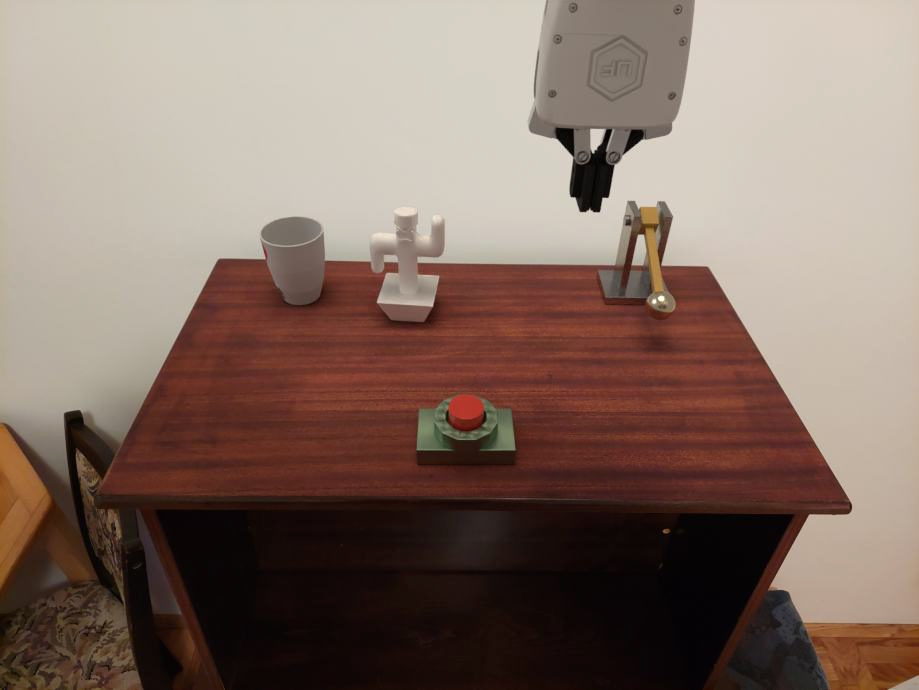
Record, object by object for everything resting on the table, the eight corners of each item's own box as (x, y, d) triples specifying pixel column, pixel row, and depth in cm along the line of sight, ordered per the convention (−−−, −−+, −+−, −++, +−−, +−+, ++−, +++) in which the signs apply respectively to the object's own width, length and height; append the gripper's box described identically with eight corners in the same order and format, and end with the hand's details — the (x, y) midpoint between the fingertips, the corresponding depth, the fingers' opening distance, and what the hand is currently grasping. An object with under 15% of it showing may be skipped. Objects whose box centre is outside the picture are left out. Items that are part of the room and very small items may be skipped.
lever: (672, 325, 79) (682, 310, 76) (643, 325, 79) (651, 310, 76) (655, 221, 87) (663, 203, 84) (629, 220, 87) (635, 203, 84)
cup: (286, 276, 93) (275, 213, 87) (340, 282, 92) (332, 219, 86) (262, 307, 87) (248, 242, 81) (319, 315, 86) (309, 249, 80)
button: (482, 406, 67) (483, 394, 66) (484, 431, 65) (484, 419, 64) (448, 406, 67) (448, 394, 66) (448, 431, 65) (448, 419, 63)
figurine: (380, 294, 90) (372, 194, 80) (447, 298, 89) (447, 198, 80) (370, 325, 84) (360, 222, 75) (441, 330, 84) (441, 226, 74)
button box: (510, 421, 71) (512, 394, 68) (514, 466, 66) (517, 439, 63) (419, 420, 71) (418, 394, 68) (416, 466, 66) (415, 439, 63)
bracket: (669, 305, 89) (691, 221, 81) (604, 304, 89) (620, 220, 81) (657, 277, 94) (677, 196, 86) (596, 276, 94) (610, 195, 86)
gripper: (513, -53, 38) (497, 225, 49) (765, -49, 38) (691, 228, 50) (506, -69, 44) (493, 183, 55) (725, -65, 44) (667, 186, 55)
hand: (587, 204), depth 52 cm, fingers closed
